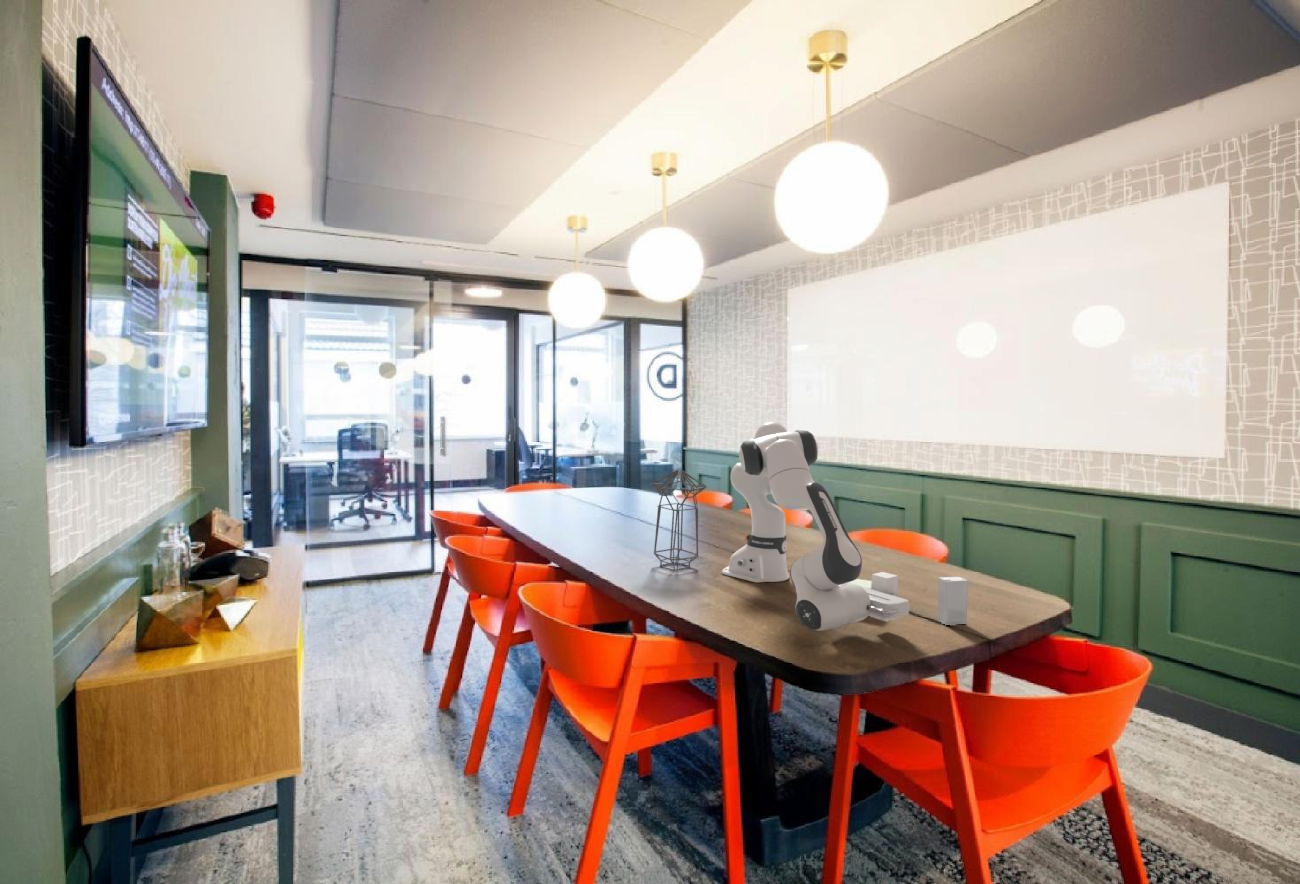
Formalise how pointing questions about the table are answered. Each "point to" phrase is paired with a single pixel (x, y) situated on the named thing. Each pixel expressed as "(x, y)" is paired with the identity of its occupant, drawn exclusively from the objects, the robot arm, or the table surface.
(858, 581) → the sage block
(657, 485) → the geometric lantern
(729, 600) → the table surface
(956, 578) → the skincare box
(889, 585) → the tall grey block
